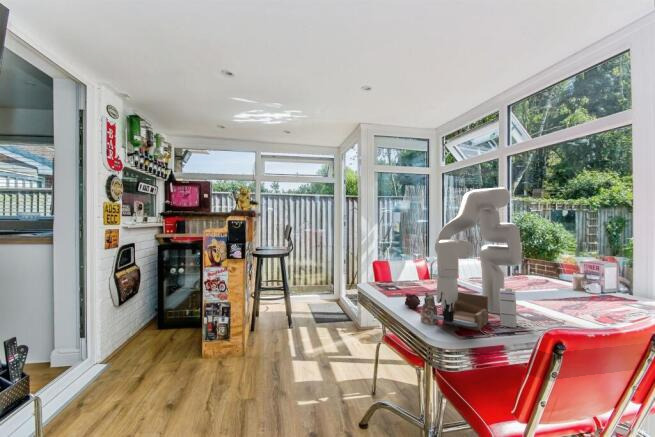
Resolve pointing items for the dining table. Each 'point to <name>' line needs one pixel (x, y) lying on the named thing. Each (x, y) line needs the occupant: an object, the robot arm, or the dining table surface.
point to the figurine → (429, 310)
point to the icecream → (412, 300)
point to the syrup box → (507, 307)
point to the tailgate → (456, 321)
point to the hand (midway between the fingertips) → (448, 320)
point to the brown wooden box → (471, 309)
